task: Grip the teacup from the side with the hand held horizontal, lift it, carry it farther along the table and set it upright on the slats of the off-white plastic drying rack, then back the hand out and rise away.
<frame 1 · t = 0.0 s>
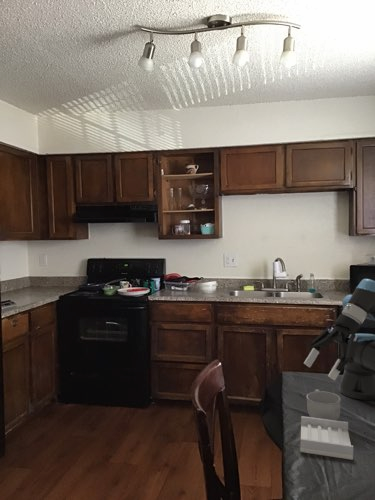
hand: (318, 371, 144), 15 cm above the table, tool tilted 35°, fingers open, 13 cm apart
teacup: (322, 418, 143), on the table
drying rack: (325, 442, 127), on the table
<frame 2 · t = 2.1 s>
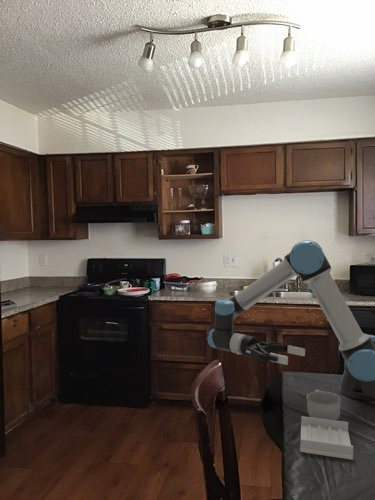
hand: (296, 356, 149), 19 cm above the table, tool horizontal, fingers open, 13 cm apart
nothing on the table moved.
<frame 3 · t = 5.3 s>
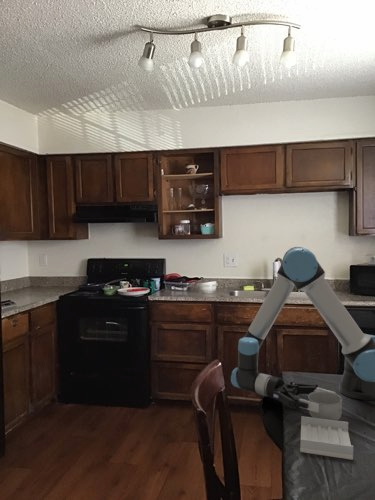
hand: (327, 402, 142), 6 cm above the table, tool horizontal, fingers open, 13 cm apart
teacup: (323, 418, 143), on the table, touching gripper
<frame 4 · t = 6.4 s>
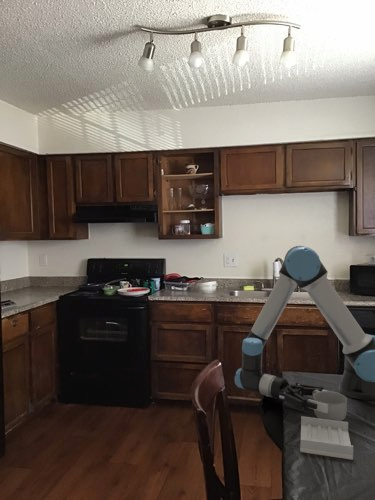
hand: (334, 403, 140), 6 cm above the table, tool horizontal, fingers closed on teacup, 11 cm apart
teacup: (326, 418, 143), on the table, touching gripper
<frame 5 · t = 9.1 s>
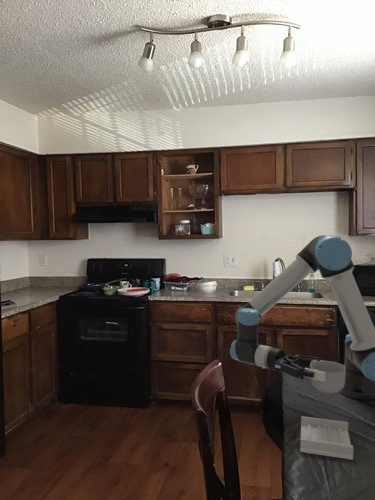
hand: (332, 372, 134), 18 cm above the table, tool horizontal, fingers closed on teacup, 11 cm apart
teacup: (324, 388, 137), point 12 cm above the table, touching gripper
when the fingers open (9 cm above the table, at t = 12.3 s): teacup drops 1 cm, resting on drying rack.
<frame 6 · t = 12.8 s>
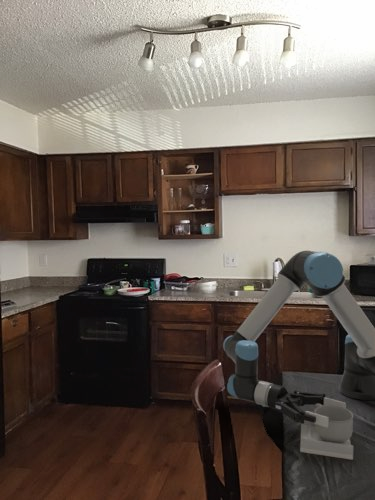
hand: (337, 414, 124), 9 cm above the table, tool horizontal, fingers open, 13 cm apart
teacup: (330, 436, 127), point 2 cm above the table, touching drying rack
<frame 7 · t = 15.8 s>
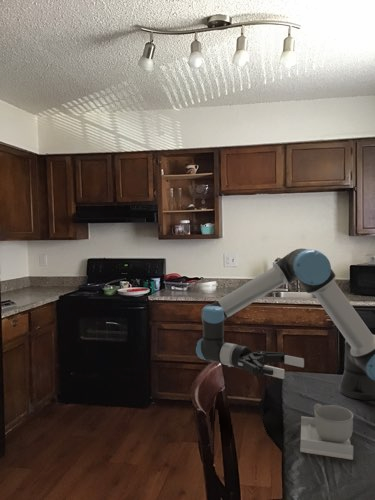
hand: (294, 368, 132), 20 cm above the table, tool horizontal, fingers open, 13 cm apart
nothing on the table moved.
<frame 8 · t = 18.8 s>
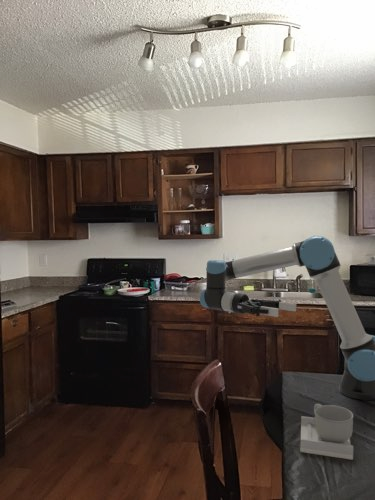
hand: (287, 310, 149), 35 cm above the table, tool horizontal, fingers open, 13 cm apart
nothing on the table moved.
at the end: teacup inside the target area on the drying rack (1.5 cm from its centre), point 1.7 cm above the drying rack's base; teacup tilted 0°; the gripper is holding nothing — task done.
